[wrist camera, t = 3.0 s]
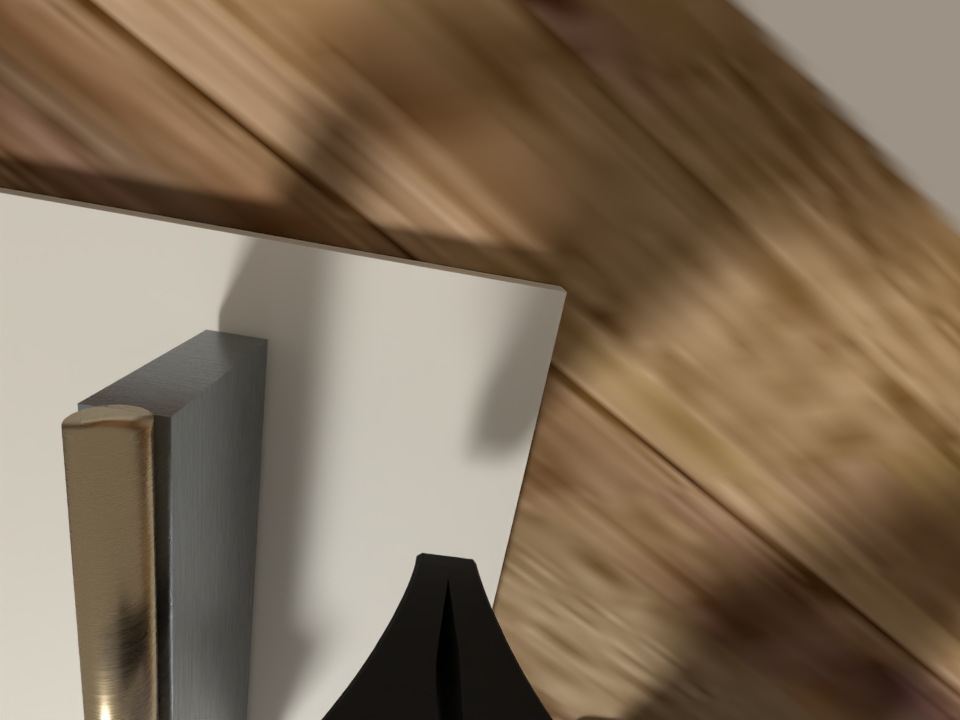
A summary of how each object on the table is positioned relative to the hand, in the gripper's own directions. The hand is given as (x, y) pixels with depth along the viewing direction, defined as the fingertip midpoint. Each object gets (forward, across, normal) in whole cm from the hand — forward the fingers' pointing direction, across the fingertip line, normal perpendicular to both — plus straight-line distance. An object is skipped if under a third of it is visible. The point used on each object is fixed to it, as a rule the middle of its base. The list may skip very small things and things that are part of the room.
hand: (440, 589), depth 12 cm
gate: (+3, +6, +3) cm, 7 cm away
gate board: (+4, +7, +5) cm, 9 cm away
